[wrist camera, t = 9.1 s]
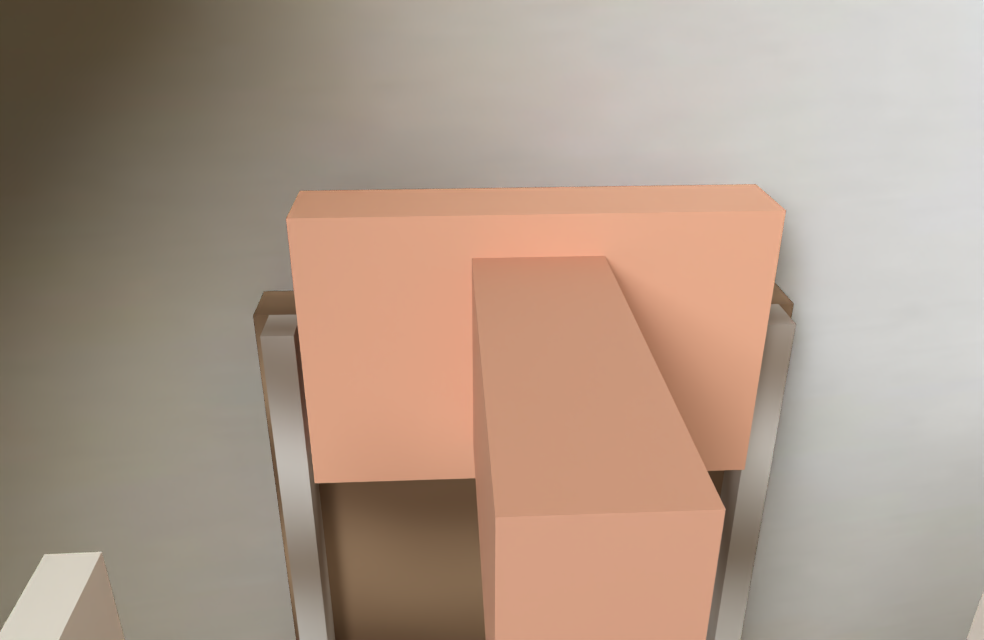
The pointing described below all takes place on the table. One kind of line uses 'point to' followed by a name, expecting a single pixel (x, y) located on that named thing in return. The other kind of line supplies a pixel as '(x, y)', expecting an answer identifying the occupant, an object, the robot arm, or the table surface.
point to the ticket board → (451, 514)
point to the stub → (546, 379)
